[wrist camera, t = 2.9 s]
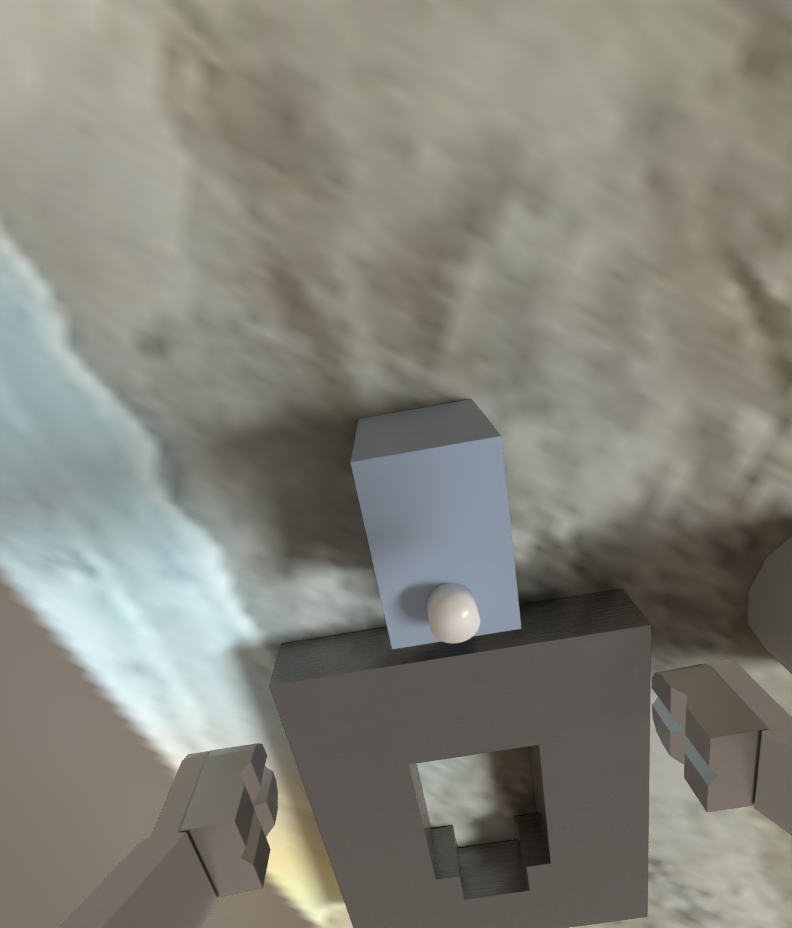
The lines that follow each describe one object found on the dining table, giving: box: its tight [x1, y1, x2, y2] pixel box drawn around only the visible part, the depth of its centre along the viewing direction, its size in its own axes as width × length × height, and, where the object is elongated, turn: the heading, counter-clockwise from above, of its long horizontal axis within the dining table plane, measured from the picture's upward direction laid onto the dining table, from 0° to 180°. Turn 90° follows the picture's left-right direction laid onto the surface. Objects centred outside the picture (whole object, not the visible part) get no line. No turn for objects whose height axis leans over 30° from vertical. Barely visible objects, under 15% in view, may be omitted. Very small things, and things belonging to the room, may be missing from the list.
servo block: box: [350, 399, 521, 649], centre depth 17 cm, size 4×8×6 cm, turn 10°
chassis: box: [269, 589, 651, 928], centre depth 25 cm, size 16×20×2 cm
